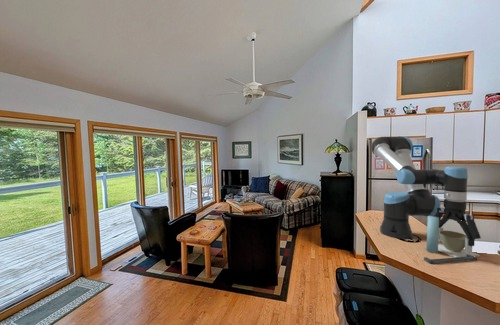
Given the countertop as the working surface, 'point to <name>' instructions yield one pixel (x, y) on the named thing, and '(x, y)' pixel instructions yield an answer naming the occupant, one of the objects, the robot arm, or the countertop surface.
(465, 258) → the rail
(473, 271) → the countertop surface
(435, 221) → the dowel
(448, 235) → the beige bowl
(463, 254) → the coaster
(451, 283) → the countertop surface
